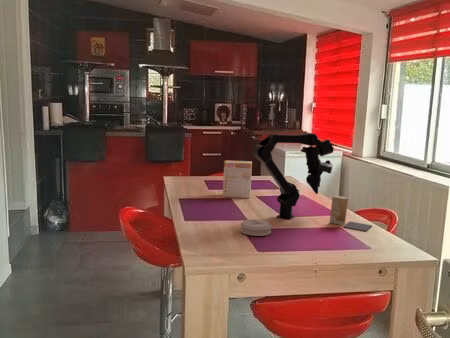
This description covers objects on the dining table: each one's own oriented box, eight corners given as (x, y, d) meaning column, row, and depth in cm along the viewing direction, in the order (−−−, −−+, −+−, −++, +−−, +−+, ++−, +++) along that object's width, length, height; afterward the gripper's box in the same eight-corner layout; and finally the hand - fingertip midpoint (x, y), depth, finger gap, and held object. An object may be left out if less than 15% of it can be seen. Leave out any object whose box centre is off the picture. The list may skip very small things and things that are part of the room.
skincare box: (329, 223, 204) (331, 196, 202) (331, 221, 207) (334, 195, 205) (343, 225, 201) (346, 198, 199) (345, 223, 204) (348, 197, 202)
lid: (252, 226, 194) (252, 215, 193) (276, 233, 186) (277, 221, 185) (234, 232, 184) (234, 221, 184) (259, 240, 177) (260, 227, 176)
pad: (366, 231, 193) (366, 230, 193) (343, 227, 198) (343, 226, 198) (371, 226, 201) (372, 225, 201) (349, 222, 206) (349, 221, 206)
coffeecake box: (250, 195, 252) (252, 161, 249) (249, 198, 245) (251, 163, 242) (223, 194, 253) (225, 159, 250) (222, 196, 246) (223, 161, 243)
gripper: (328, 162, 199) (333, 195, 204) (331, 151, 216) (336, 181, 220) (303, 165, 203) (309, 198, 207) (308, 154, 220) (313, 184, 224)
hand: (317, 190), depth 215 cm, fingers open, 9 cm apart
